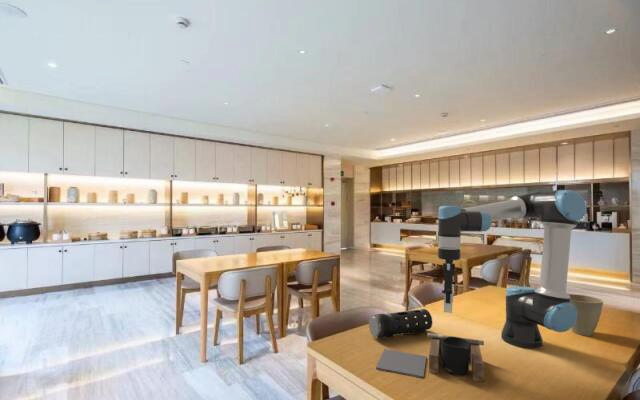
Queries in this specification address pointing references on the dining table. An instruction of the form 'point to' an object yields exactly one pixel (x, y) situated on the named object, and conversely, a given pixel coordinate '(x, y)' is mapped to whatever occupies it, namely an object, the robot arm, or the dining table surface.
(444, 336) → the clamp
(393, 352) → the mat
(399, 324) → the muzzle brake
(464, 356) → the pen holder
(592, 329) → the plant pot
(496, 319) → the dining table surface
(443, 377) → the dining table surface
